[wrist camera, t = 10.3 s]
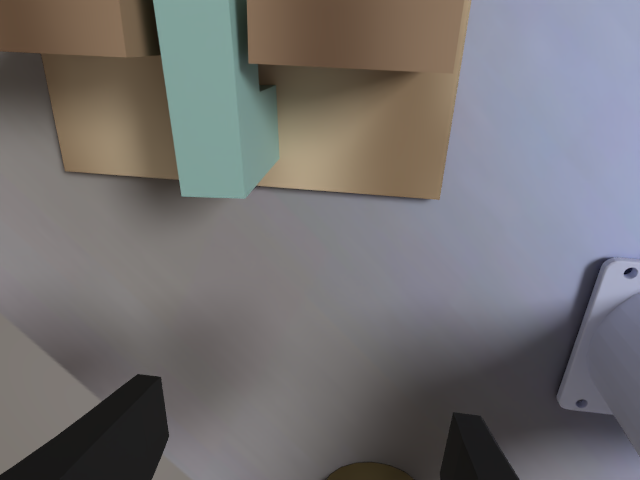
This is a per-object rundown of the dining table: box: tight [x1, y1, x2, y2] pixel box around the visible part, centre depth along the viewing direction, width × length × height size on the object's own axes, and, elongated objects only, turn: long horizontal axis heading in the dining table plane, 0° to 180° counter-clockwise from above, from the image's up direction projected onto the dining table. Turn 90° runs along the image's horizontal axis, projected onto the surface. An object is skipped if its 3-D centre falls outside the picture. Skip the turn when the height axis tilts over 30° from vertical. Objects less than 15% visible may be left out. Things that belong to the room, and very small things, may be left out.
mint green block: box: [153, 0, 280, 199], centre depth 14 cm, size 2×9×5 cm, turn 0°
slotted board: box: [0, 0, 471, 200], centre depth 14 cm, size 16×12×6 cm
